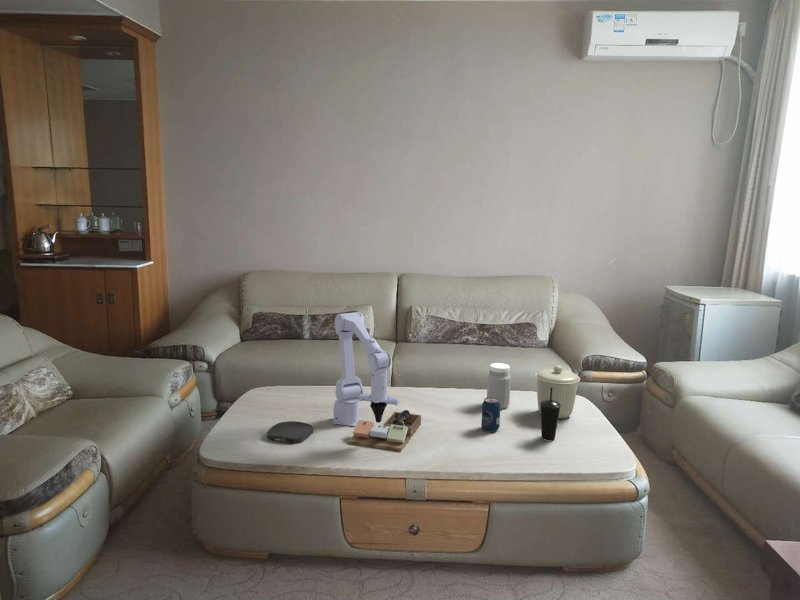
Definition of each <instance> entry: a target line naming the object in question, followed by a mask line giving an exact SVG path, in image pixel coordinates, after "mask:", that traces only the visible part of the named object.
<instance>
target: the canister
mask: <svg viewBox="0 0 800 600" xmlns="http://www.w3.org/2000/svg"><path fill="white" fill-rule="evenodd" d="M534 377H535V378H536V395H537V408H538V411H539V412H540V414H541V405H540V402H541V401H543V400H550V390H551V387H553V388H552V400H555V401H557V402H559V403H560V404H561V407H560V411H559V417H558V420H560V419H566V418H569V417H570V416H571V415H572V413H573V411H574V406H575V402H576V396H577V391H578V387H579V383H580V382H581V377H580V376H579V375H577V374H576V373H574V372H572V371H569V370H566V369H563V367H562V365H555V366H553V368H546V369H545V368H544V369H541V370H539V371H537V372H536V373H535V374H534Z"/></svg>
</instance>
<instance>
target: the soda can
mask: <svg viewBox="0 0 800 600" xmlns="http://www.w3.org/2000/svg"><path fill="white" fill-rule="evenodd" d="M500 421H501V409H500V402H499V399H497V398H493V397H488V398H487V397H485V398H484V399H483V402H482V405H481V425H480V426H481V428H482V430H483V431H485V432H488V433H496V432H497V431H498V430H499V428H500V427H501V425H500V424H501V422H500Z"/></svg>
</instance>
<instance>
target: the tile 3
mask: <svg viewBox="0 0 800 600" xmlns="http://www.w3.org/2000/svg"><path fill="white" fill-rule="evenodd" d="M407 427H408V426H406V425H405V426H400V425H396V424H391V427H390V430H389V433H388V436H387V441H390V442H397V443H404V440H405V437H406V434H407V430H408V429H407Z"/></svg>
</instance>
